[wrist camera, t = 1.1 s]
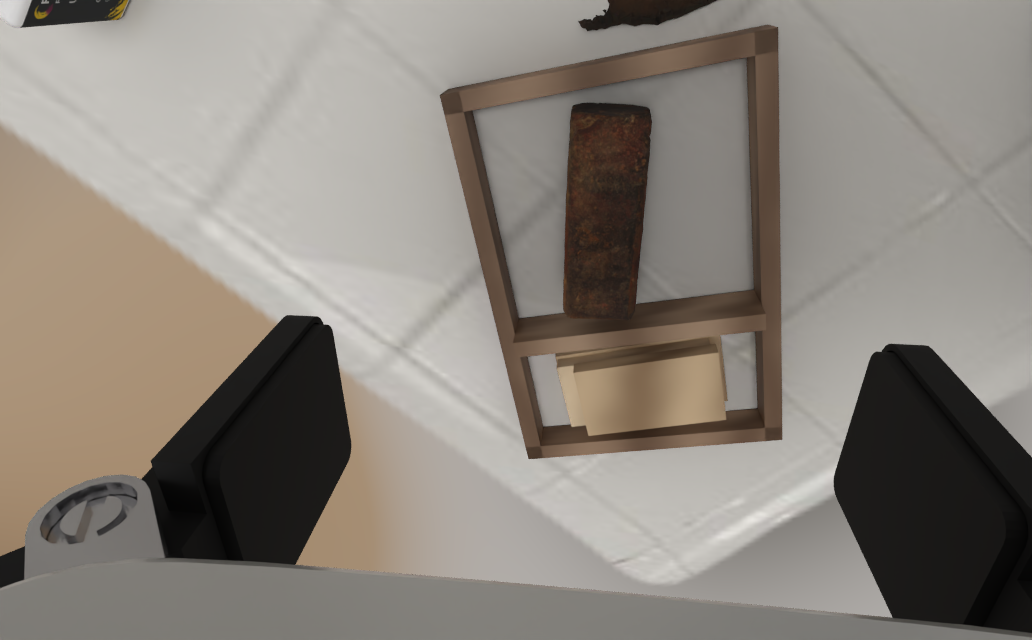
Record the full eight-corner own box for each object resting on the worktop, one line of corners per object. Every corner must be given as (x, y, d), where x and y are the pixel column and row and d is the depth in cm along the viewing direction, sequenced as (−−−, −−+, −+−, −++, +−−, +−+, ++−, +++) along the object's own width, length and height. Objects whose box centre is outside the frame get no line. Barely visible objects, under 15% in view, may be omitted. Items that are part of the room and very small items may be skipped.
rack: (767, 24, 30) (783, 29, 27) (774, 419, 40) (786, 450, 38) (448, 89, 33) (435, 98, 30) (531, 440, 44) (527, 469, 41)
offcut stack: (717, 324, 38) (725, 350, 36) (724, 391, 40) (733, 420, 38) (556, 348, 40) (553, 374, 38) (572, 411, 42) (570, 439, 40)
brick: (632, 287, 37) (636, 324, 33) (565, 284, 38) (561, 320, 34) (649, 100, 32) (656, 118, 28) (572, 99, 33) (567, 116, 29)
